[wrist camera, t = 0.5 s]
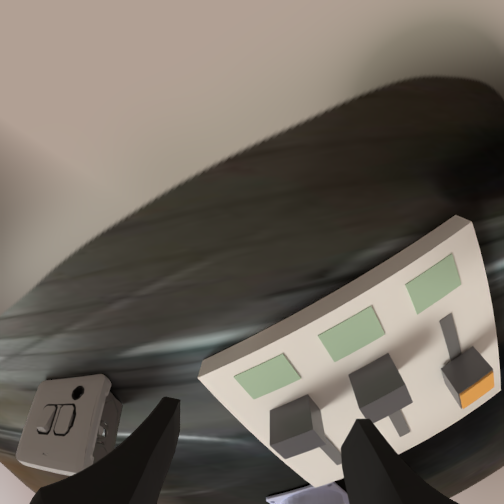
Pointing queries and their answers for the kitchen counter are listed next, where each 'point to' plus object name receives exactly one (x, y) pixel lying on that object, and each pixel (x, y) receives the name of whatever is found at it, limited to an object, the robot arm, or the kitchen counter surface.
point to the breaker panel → (365, 356)
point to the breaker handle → (468, 377)
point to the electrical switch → (70, 425)
